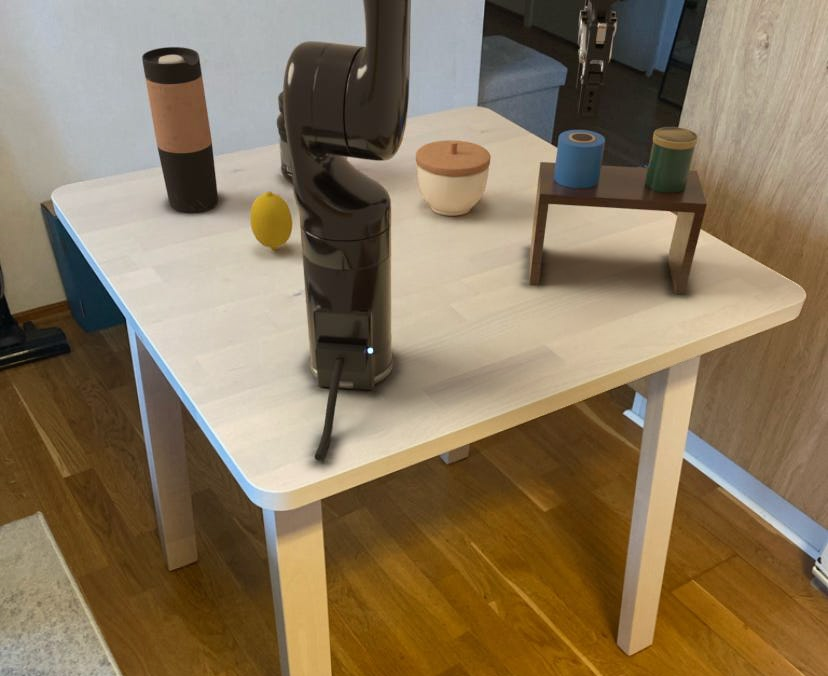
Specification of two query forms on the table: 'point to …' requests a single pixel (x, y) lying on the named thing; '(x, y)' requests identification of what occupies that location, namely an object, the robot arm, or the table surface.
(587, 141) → the tape roll
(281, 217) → the lemon
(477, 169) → the trinket box
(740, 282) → the table surface
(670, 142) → the tea tin
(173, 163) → the travel mug
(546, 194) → the shelf
